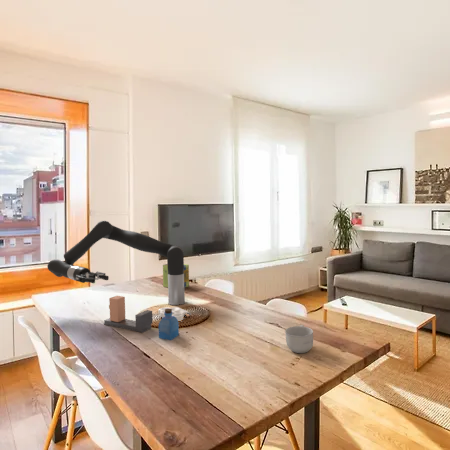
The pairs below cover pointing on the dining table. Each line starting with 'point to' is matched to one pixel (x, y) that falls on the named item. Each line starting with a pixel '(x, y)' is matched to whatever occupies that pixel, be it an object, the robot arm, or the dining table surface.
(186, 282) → the protein box
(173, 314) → the white brass knuckles
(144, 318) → the rail
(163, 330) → the perfume bottle
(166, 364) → the dining table surface
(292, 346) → the teacup
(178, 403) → the dining table surface
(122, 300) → the carriage
